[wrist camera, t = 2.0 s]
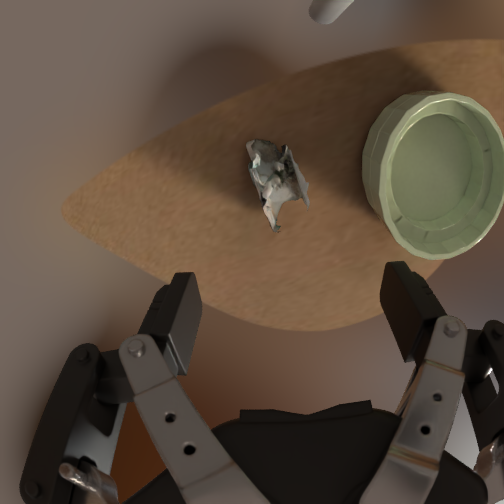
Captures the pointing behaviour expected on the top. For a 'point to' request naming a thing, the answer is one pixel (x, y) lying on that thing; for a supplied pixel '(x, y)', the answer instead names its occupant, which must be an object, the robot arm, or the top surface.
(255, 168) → the crumpled paper
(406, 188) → the bowl
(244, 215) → the top surface
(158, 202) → the top surface
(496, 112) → the top surface
